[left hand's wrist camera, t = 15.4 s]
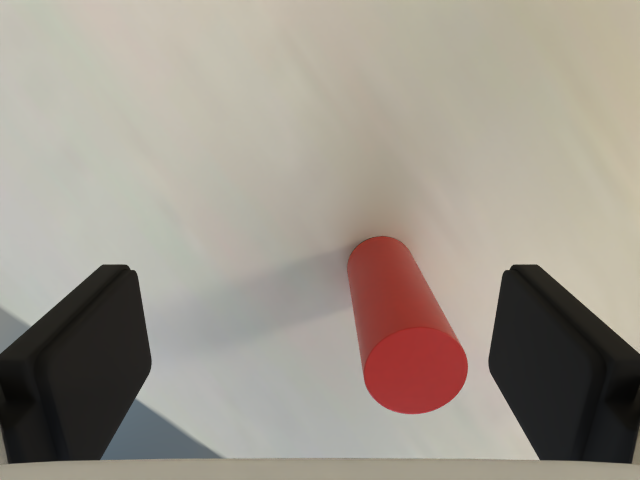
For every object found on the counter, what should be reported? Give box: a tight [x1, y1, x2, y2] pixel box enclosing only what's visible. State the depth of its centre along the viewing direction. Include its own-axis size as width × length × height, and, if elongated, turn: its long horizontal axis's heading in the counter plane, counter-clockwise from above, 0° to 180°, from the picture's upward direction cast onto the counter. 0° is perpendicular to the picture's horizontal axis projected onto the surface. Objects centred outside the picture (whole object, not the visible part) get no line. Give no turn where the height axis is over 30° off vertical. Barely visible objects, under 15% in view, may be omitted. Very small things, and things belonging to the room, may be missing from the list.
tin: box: [347, 236, 468, 414], centre depth 26 cm, size 5×5×12 cm
